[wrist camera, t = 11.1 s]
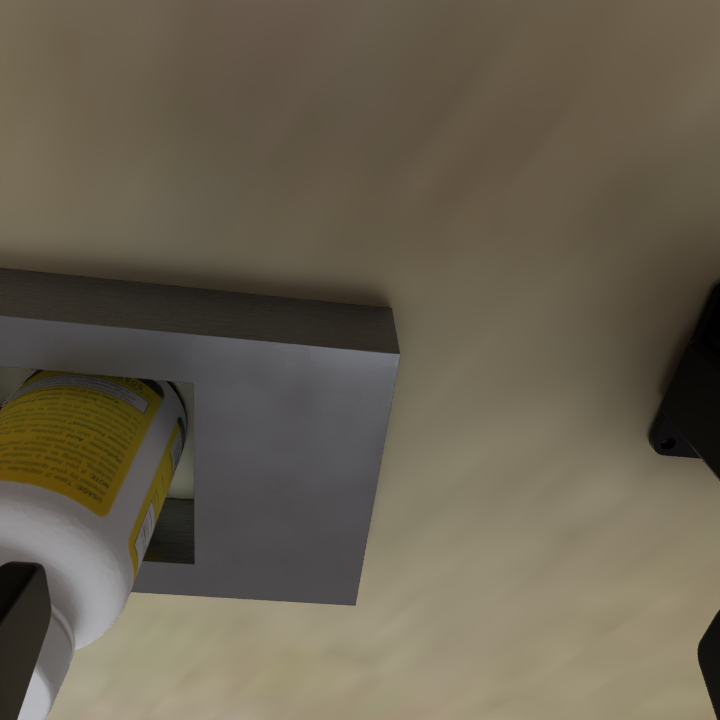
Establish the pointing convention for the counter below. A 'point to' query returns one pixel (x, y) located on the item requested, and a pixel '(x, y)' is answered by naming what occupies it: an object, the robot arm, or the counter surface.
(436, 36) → the counter surface
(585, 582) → the counter surface
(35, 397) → the supplement bottle
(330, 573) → the grey slab with hole
